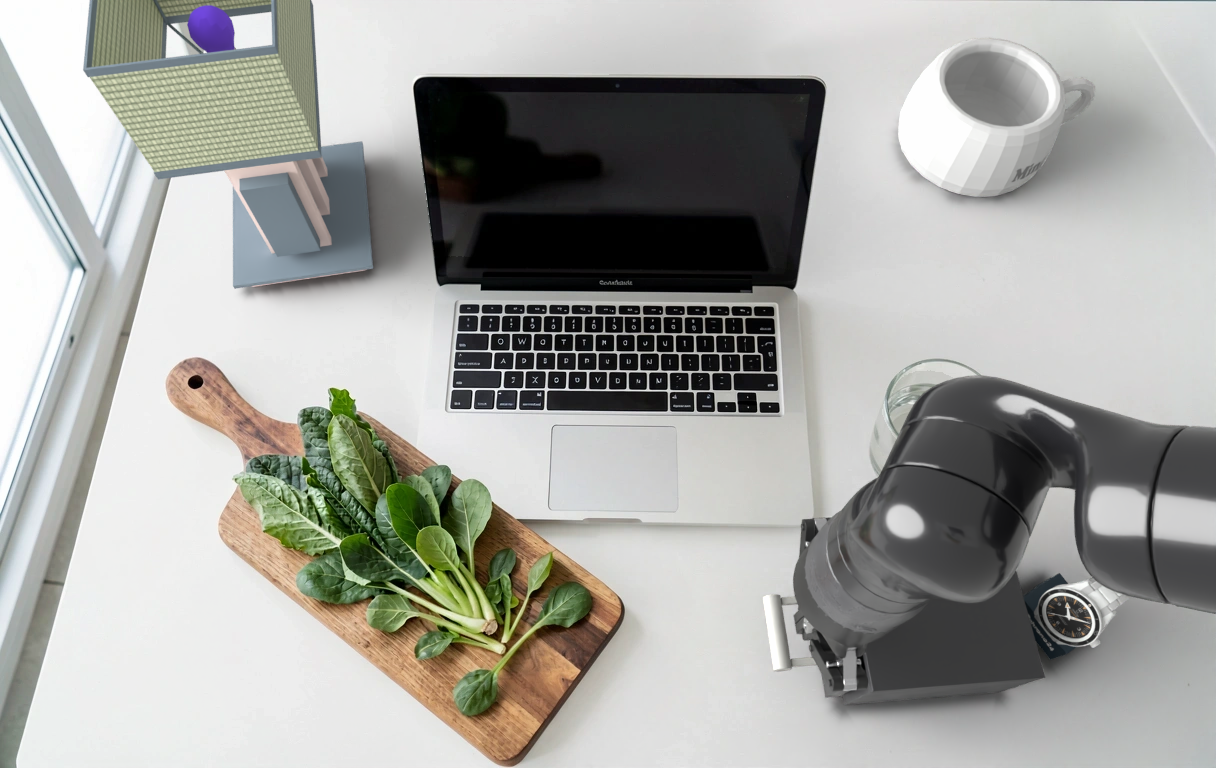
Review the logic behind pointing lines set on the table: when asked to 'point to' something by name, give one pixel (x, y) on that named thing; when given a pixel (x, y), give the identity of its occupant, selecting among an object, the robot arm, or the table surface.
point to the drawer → (780, 641)
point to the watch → (1070, 613)
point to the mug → (986, 116)
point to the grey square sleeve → (954, 651)
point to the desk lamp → (238, 128)
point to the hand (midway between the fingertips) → (807, 624)
